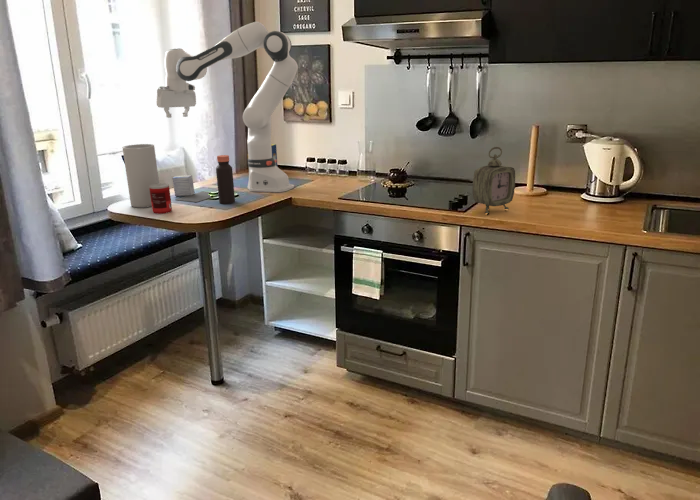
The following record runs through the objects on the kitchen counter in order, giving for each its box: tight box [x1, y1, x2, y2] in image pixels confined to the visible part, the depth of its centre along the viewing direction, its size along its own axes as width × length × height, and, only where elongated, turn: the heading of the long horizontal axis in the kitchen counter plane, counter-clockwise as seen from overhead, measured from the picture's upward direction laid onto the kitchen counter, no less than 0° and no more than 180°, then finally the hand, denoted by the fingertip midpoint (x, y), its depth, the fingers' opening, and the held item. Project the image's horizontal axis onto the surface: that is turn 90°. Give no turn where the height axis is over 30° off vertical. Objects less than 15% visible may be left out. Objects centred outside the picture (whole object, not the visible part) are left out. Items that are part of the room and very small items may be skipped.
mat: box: [175, 190, 212, 203], centre depth 257 cm, size 12×18×1 cm, turn 154°
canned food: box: [149, 182, 173, 215], centre depth 231 cm, size 8×8×11 cm
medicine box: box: [171, 174, 195, 197], centre depth 259 cm, size 8×4×9 cm, turn 84°
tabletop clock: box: [472, 146, 516, 214], centre depth 216 cm, size 14×9×25 cm, turn 124°
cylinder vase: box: [122, 143, 160, 209], centre depth 241 cm, size 12×12×25 cm
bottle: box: [215, 154, 236, 205], centre depth 242 cm, size 7×7×20 cm
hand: (177, 117), depth 264 cm, fingers open, 8 cm apart
